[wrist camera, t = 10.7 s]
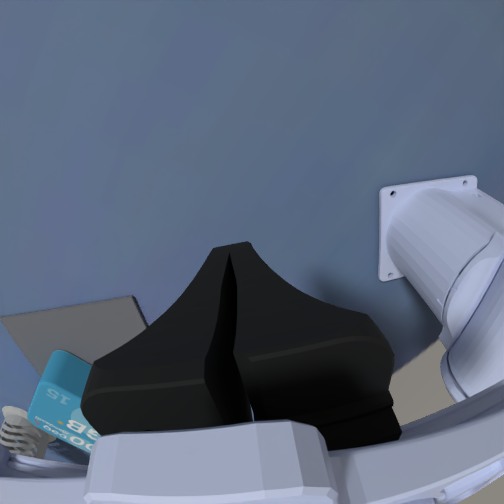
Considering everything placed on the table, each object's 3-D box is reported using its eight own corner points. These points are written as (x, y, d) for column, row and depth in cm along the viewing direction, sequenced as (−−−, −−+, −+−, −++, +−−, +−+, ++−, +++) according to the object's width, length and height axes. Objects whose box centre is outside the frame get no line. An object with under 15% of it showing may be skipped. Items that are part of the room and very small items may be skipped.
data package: (156, 433, 26) (113, 463, 30) (160, 397, 30) (118, 434, 34) (40, 377, 22) (24, 421, 26) (56, 343, 26) (35, 392, 30)
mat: (132, 295, 24) (131, 297, 24) (196, 417, 33) (196, 419, 33) (1, 316, 24) (-1, 318, 24) (82, 421, 33) (81, 423, 33)
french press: (61, 447, 38) (38, 577, 16) (3, 425, 35) (-30, 543, 14) (49, 419, 33) (15, 573, 12) (-15, 393, 31) (-61, 529, 9)
